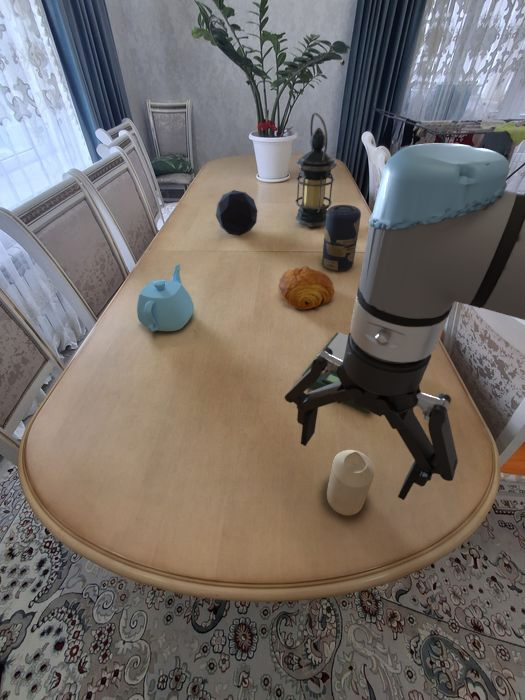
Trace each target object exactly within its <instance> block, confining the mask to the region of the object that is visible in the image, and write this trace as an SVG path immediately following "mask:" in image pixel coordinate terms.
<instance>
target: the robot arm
mask: <svg viewBox="0 0 525 700" xmlns="http://www.w3.org/2000/svg"><path fill="white" fill-rule="evenodd" d="M509 173H510V163H509V161H508V159H507V158H506V157H505V156H504V155H502V154H501V153H499V152H497V151H495V150H491V149H488V148H482V147H474V146H471V145H469V144H461V143H447V142H445V143H444V142H443V143H442V142H440V143H439V142H436V143H435V142H433V143H419V144H412V145H409V146H406V147H404V148H401V149H399V150H398V151H396V153H394V154H393V155H392V156H391V157H389V158H388V159H387V161H386V163H385V165H384V166H383V170H382V174H381V177H380V183H379V186H378V190H377V194H376V198H375V201H374V206H373V209H372V214H370V216H369V217H368V218H369V219H368V224H369V225H368V231H367V237H366V243H365V249H364V255H363V260H362V265H361V271H360V278H359V282H358V286H357V291H356V294H355V300H354V303H353V310H352V316H351V321H350V327H349V333H348V334H347V336H348V340H347V345H346V350H345V355H344V360H343V361H342V360H340V359H338V358H336V357H334V356H332V354H333V352H332V350H331V349H330V348H329V347H325V346H324V347H323V348H322V349H321V350H320V351H319V353H318V354H317V356H315V358H314V359H313V361H312V362H313V363H312V362H311V364H312V367H311V369H310V370H309V371H308V372H307V373H306V374H305V375H304V376H303V377H302V376H301V377H300V378H299V379H298V380H297V381H296V382H295V384H294V385H293V386H292V387H291V388H290V389H289V391H288V392H287V393H286V394H285V396H284V399H285V401H286V402H287V403H289V404H291V403H294V404H295V405H296V409H297V415H296V416H297V417H296V421H297V423H298V424H300V425H301V426H302V427H301V436H300V445H302V446H304V447H307V445H308V443H309V442H310V440H311V439H312V437H313V435H314V434H315V432H316V424H317V418H318V411H319V408H321V407H325V406H327V405H330V404H331V405H332V404H333V403H337V404H341V403H344V402H345V401H348V400H352V401H353V402H354V405H356V406H358V407H361V408H365V409H368V410H369V412H371V413H373V414H374V415H376V416H378V417H381V418H382V416H384V417H385V419H386V421H387V422H388V424H389V426H390V427H391V429H393V430H396V431H397V433H398V435H399V437H400V438H401V440H402V441H403V443H404V445H405V447H406V448H407V449H408V451H409V453H410V454H411V456H412V458H413V460H414V461H413V462H412V465H411V466H410V469H409V471H408V472H407V474H406V477H404V480H403V483H402V485H401V488H400V491H399V493H398V496H397V498H398V499H400V500H402V501H405V499H406V498H407V496H408V494H409V492H410V491H411V489H412V487H413V485H414V484H416V485H417V486H419V487H421V488H422V487H424V486H426V484H427V483H428V482H429V481H431V480H432V478H433V474H434V475H439V476H440V478H441V479H443V480H444V481H447V482H452V481H453V480H454V476H455V474H456V470H457V466H458V463H459V458H458V455H457V450H456V445H455V442H454V441H455V440H454V436H453V433H452V427H451V422H450V418H449V413H448V412H449V408H450V405H451V402H452V397H451V396H450V395H449V394H447V393H444V392H443V393H439V394H437V397H436V396H432V395H430V394H427V393H424V392H422V390H421V388H420V386H421V385H420V384H421V383H422V380H423V378H424V375H425V373H426V370H427V368H428V366H429V363H430V361H431V358H432V354H433V352H434V351H435V349H436V347H437V344H438V343H439V340H440V338H441V335H442V333H443V330H444V328H445V326H446V324H447V322H448V318H449V316H450V314H451V311H452V309H453V306H454V303H455V302H456V303H460V304H464V305H468V306H471V307H475V308H478V309H484V310H487V311H490V312H495V313H498V314H502V315H505V316H509V317H513V318H516V319H520V320H523V321H525V192H524V193H522V194H521V193H518V192H516V191H511V190H510V191H509V190H507V186H508V183H507V179H508V176H509ZM331 371H336V372H337V376H338V378H339V380H340V381H337V382H334V383H332V384H329V385H327V386H324V387H321V388H319V389H316V390H315V389H313V390H311V389H309V388H311V387H310V386H311V385H312V384H313V383H314V382H315V381H316V380H317V379H318V378H319V377H320V375H321V374H322V375H325V374H329V373H330V372H331ZM306 390H307V392H306ZM415 407H419V408H420V409H421V412H422V414H423V420H425V421H428V423H427V428H428V433H429V436H430V439H429V437H428V435H427V433H426V431H425V429H424V428H423V427H422V424H421V423H420V421H419V419H418V418H417V416H416V415H415V412H414V408H415Z"/></svg>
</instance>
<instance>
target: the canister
mask: <svg viewBox="0 0 525 700" xmlns="http://www.w3.org/2000/svg"><path fill="white" fill-rule="evenodd" d="M326 210H327V214H326V223H325V224H324V225H325V227H324V237H323V246H322V259H321V263H322V265H323V266H324V267H325V268H327V269H328V270H331V271H337V272H338V271H341V272H342V271H346V270H349V269H351V268H352V267H353V266H354V261H355V258H356V257H355V255H356V249H357V243H358V238H359V231H360V225H361V218H362V212H361V209H360V208H359V207H356V206H355V205H351V204H336V205H333V206H332V205H331V206H329V208H327V209H326Z"/></svg>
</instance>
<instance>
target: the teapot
mask: <svg viewBox="0 0 525 700" xmlns="http://www.w3.org/2000/svg"><path fill="white" fill-rule="evenodd" d="M180 271H181V264H177V265H175V267H174V269H173V271H172V280H171V279H153V280H150V281H149V282H147V283H146V284H145V285H144V287H142V288H141V290H140V292H139V293H138V298H137V302H136V314H137V319H138V321H139V322H140V323H141V324H142V325H143V326H145V327H147V328H148V330H149V332H152V333H153V332H156V331H159V332H175V331H179V330H181V329H183V327H184V326H186V325H187V323H188V322H189V321H190V319H191V317H192V315H193V313H194V310H195V306H194V302H193V299H192V297H191V295H190V293H189V292H188V290H187V289H186V288H185V287H184V285H183V283H182V279H181V276H180Z"/></svg>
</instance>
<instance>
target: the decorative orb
mask: <svg viewBox="0 0 525 700" xmlns="http://www.w3.org/2000/svg"><path fill="white" fill-rule="evenodd" d="M256 205H257V204H256V202H255V199H254V198H253V197H252V196H250V195H249V194H248V193H247V192H245V191H241V190H235V189H232V190H231V191H228V192H226V193H223V195H221V198H220V199H219V201H218V202H217V204H216V211H215V212H216V213H215V217H216V219H217V222H218V224H219V226H220V228H221V229H222V230H224V231H225V232H226V233H227V234H228V235H234V236H238V237H240V236H242V235H244V234H247V233H249V232H250V231H251V230H252V229H253V228H254V226H255V225H256V224H257V220H258V208H257V206H256Z"/></svg>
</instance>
